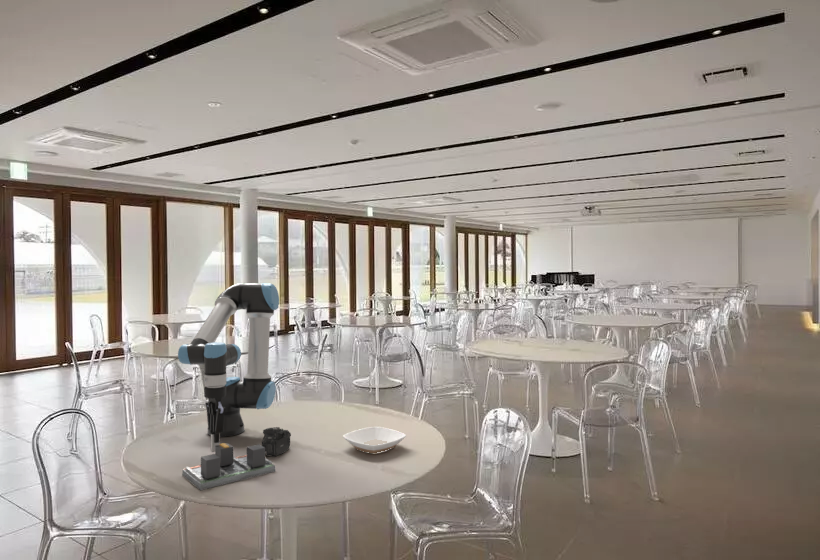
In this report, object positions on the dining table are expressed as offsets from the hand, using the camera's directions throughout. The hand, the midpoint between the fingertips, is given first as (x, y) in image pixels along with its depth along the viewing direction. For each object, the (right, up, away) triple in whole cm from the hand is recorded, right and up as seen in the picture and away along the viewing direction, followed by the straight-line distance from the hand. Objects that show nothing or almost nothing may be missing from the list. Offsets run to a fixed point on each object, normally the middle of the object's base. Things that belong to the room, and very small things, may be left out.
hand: (215, 450), depth 201 cm
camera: (+19, -5, +13) cm, 23 cm away
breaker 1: (+5, -3, -17) cm, 18 cm away
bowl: (+56, -5, +18) cm, 59 cm away
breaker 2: (+5, -3, -6) cm, 8 cm away
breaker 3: (+17, -3, -7) cm, 18 cm away
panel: (+8, -5, -9) cm, 13 cm away
